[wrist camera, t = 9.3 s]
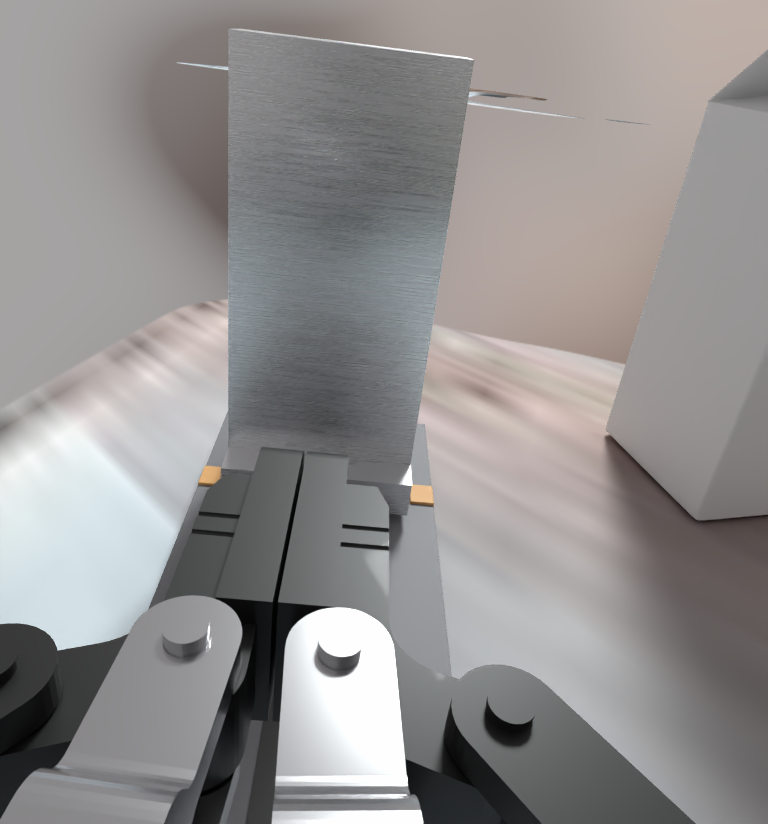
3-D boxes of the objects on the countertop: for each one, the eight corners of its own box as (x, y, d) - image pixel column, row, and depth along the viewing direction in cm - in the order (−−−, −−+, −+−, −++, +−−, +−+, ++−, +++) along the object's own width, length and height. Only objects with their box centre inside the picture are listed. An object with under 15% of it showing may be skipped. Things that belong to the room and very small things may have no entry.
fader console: (230, 447, 29) (230, 403, 28) (418, 464, 29) (425, 422, 28) (-73, 1280, 10) (-107, 1238, 9) (486, 1293, 10) (514, 1255, 9)
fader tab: (243, 434, 25) (248, 28, 19) (403, 449, 26) (462, 55, 19) (221, 499, 22) (218, 29, 15) (407, 515, 22) (480, 62, 16)
